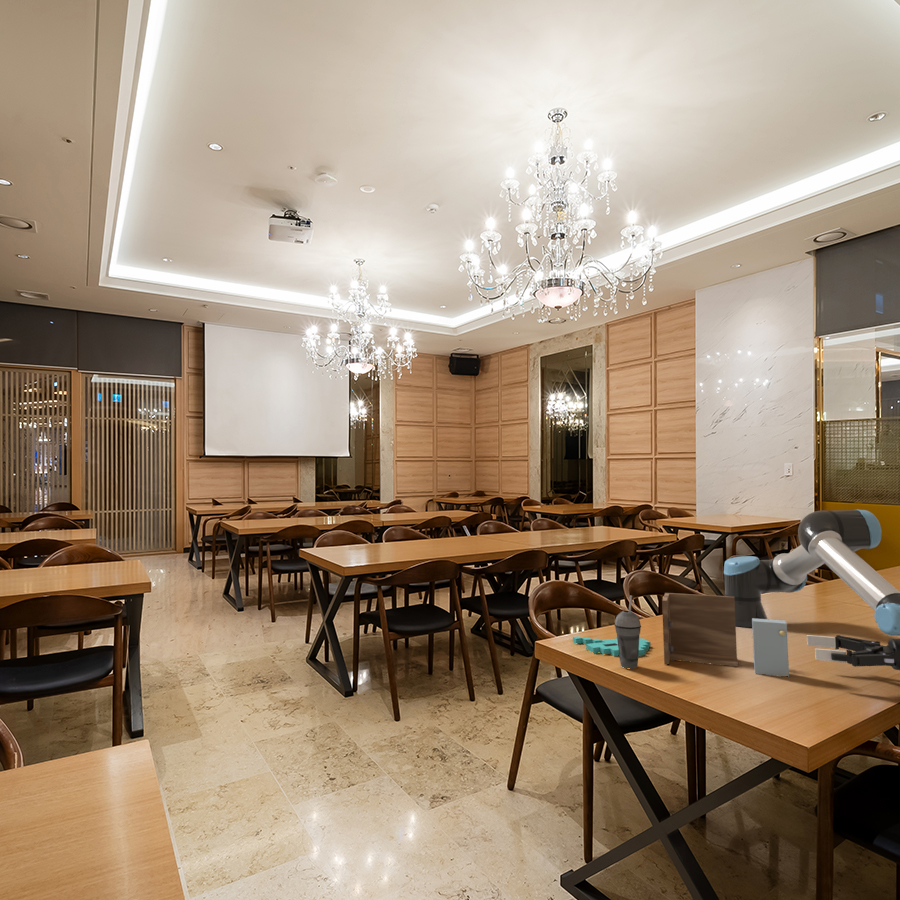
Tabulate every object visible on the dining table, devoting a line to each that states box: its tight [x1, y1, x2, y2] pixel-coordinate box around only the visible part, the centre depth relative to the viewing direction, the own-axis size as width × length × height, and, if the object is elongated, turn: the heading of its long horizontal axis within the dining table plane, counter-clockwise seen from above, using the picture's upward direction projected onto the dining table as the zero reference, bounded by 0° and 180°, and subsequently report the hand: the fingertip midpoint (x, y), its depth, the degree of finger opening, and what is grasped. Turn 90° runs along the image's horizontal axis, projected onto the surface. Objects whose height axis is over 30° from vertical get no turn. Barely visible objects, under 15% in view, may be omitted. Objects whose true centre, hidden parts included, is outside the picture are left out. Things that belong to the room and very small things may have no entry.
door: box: [751, 618, 790, 678], centre depth 157 cm, size 5×8×14 cm, turn 66°
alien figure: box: [572, 636, 652, 657], centre depth 184 cm, size 20×2×20 cm
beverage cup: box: [614, 595, 642, 670], centre depth 166 cm, size 7×7×20 cm
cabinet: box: [661, 592, 739, 667], centre depth 169 cm, size 12×19×18 cm, turn 66°
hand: (810, 646), depth 154 cm, fingers open, 13 cm apart
